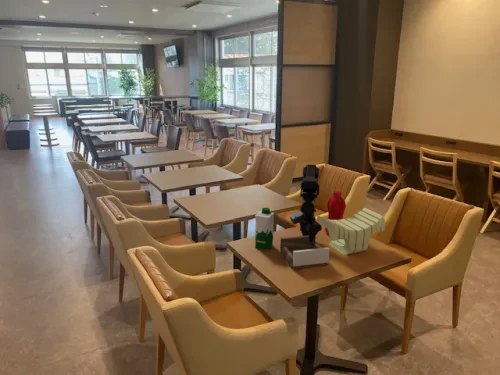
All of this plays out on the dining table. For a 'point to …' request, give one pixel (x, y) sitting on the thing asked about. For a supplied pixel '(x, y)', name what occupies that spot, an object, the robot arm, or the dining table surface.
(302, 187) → the robot arm
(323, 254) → the panel
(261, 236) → the milk carton
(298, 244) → the brown open box
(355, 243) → the slatted curved stool
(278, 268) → the dining table surface
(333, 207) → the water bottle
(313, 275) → the dining table surface
